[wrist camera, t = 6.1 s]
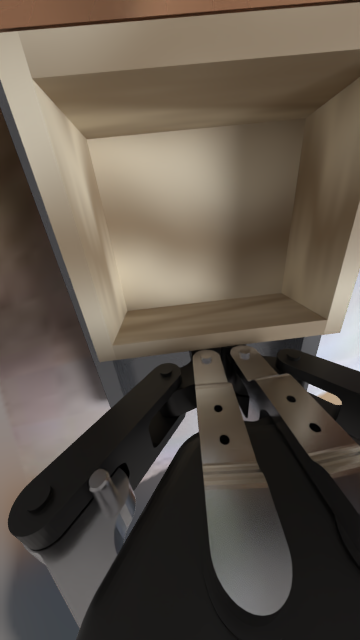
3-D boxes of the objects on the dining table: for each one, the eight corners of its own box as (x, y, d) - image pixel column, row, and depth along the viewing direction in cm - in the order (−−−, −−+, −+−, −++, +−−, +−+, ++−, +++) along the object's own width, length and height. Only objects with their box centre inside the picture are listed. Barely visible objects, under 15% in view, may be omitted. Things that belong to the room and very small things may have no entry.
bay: (12, 55, 8) (-66, -33, 6) (357, 25, 9) (451, -73, 6) (122, 399, 18) (114, 433, 15) (287, 378, 18) (311, 407, 15)
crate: (70, 125, 9) (-16, 34, 5) (314, 102, 9) (444, -6, 5) (120, 318, 13) (99, 362, 9) (284, 298, 14) (340, 332, 9)
